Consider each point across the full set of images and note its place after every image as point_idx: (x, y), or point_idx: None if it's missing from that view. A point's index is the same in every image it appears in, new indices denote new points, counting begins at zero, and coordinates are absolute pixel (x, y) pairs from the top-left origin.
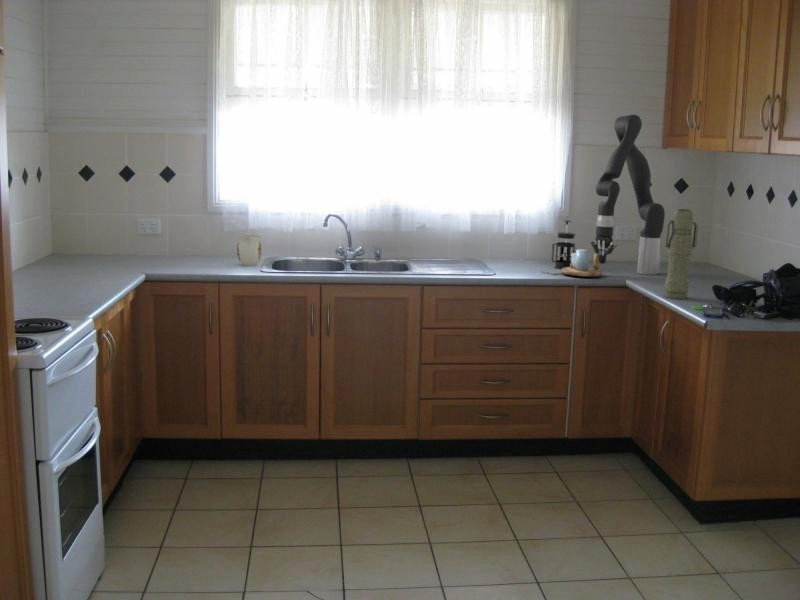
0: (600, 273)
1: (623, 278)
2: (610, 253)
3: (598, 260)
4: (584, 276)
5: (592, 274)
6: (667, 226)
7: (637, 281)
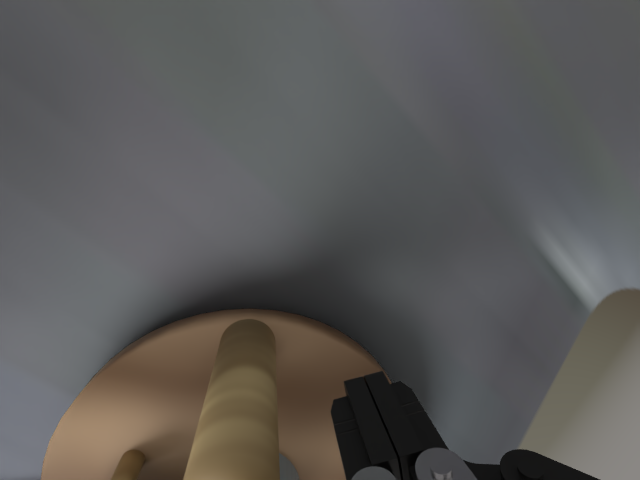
0: None
1: (483, 207)
2: (549, 459)
3: (277, 406)
4: None
5: None
6: None
7: (624, 206)
